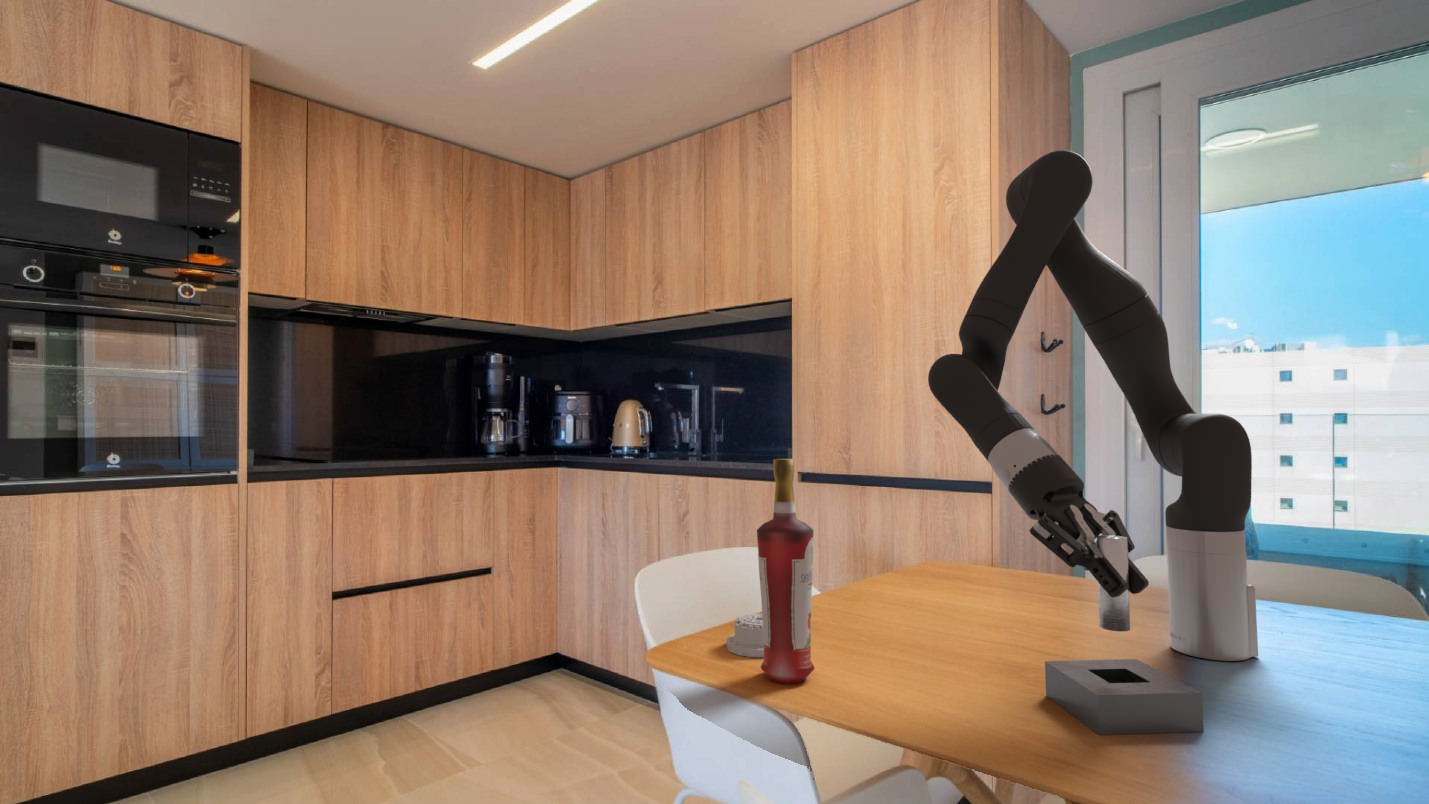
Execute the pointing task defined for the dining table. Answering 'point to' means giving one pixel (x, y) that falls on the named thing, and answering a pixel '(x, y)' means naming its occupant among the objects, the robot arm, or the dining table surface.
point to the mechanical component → (747, 636)
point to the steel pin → (1116, 552)
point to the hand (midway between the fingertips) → (1131, 590)
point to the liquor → (786, 584)
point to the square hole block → (1124, 697)
